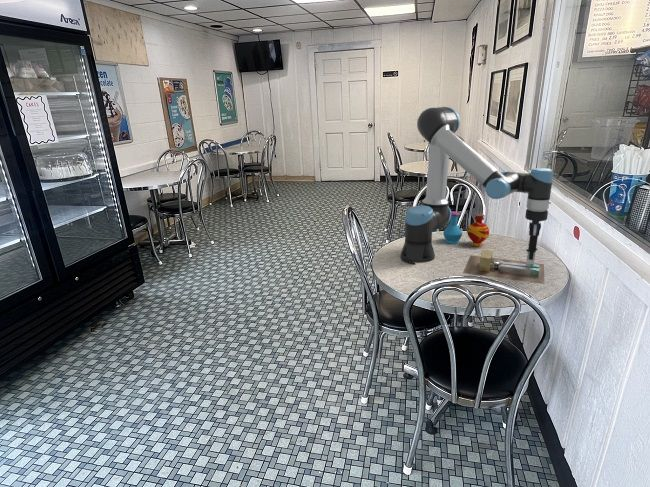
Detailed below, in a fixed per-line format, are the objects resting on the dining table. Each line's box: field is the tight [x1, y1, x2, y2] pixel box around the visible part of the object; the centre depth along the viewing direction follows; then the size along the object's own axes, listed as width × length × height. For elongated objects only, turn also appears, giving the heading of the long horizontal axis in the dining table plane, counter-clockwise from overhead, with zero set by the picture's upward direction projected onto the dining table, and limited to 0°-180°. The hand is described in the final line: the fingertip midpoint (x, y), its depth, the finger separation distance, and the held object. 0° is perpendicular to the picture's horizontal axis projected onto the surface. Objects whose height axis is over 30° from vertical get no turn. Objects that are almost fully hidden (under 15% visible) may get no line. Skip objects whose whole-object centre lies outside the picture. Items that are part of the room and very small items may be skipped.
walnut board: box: [463, 255, 546, 285], centre depth 161 cm, size 29×21×1 cm
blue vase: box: [442, 211, 463, 244], centre depth 196 cm, size 9×9×15 cm
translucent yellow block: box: [479, 249, 494, 272], centre depth 162 cm, size 4×9×6 cm, turn 153°
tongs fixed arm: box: [477, 261, 539, 277], centre depth 158 cm, size 23×4×3 cm, turn 63°
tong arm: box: [492, 260, 539, 269], centre depth 158 cm, size 17×4×3 cm, turn 67°
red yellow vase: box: [466, 213, 490, 247], centre depth 190 cm, size 10×10×15 cm
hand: (529, 265), depth 158 cm, fingers closed
